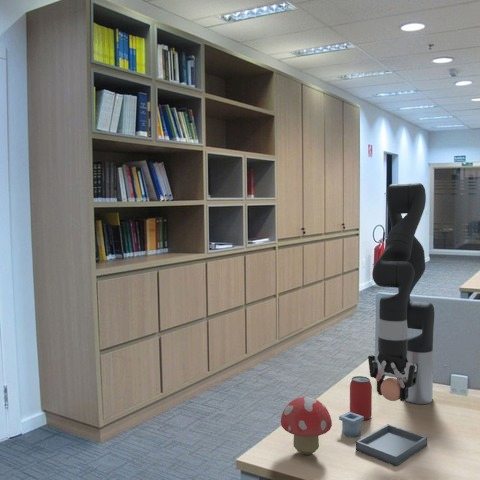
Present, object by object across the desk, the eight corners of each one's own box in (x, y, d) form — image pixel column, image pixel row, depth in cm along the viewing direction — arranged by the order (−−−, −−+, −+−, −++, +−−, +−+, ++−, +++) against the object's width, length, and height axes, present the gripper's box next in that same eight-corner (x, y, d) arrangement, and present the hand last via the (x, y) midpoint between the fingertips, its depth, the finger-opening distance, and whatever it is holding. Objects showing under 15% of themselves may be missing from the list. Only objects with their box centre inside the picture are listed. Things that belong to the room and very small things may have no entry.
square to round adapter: (349, 427, 154) (349, 411, 153) (364, 433, 150) (364, 416, 150) (338, 433, 150) (338, 416, 150) (353, 439, 146) (353, 421, 146)
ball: (388, 394, 144) (388, 373, 143) (408, 400, 139) (408, 378, 139) (376, 400, 140) (376, 378, 139) (396, 406, 135) (396, 383, 135)
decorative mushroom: (331, 468, 130) (332, 409, 129) (278, 464, 132) (278, 406, 131) (331, 444, 143) (331, 390, 142) (283, 441, 146) (282, 388, 145)
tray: (387, 432, 150) (388, 424, 150) (427, 446, 142) (427, 437, 141) (355, 450, 139) (355, 441, 139) (396, 466, 131) (396, 456, 131)
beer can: (372, 421, 158) (372, 383, 157) (349, 420, 159) (350, 381, 159) (371, 413, 164) (371, 376, 164) (349, 411, 166) (349, 374, 165)
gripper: (425, 337, 136) (424, 401, 137) (377, 328, 146) (376, 387, 147) (410, 343, 131) (409, 408, 132) (361, 333, 141) (361, 394, 142)
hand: (392, 397), depth 140 cm, fingers closed on ball, 6 cm apart
